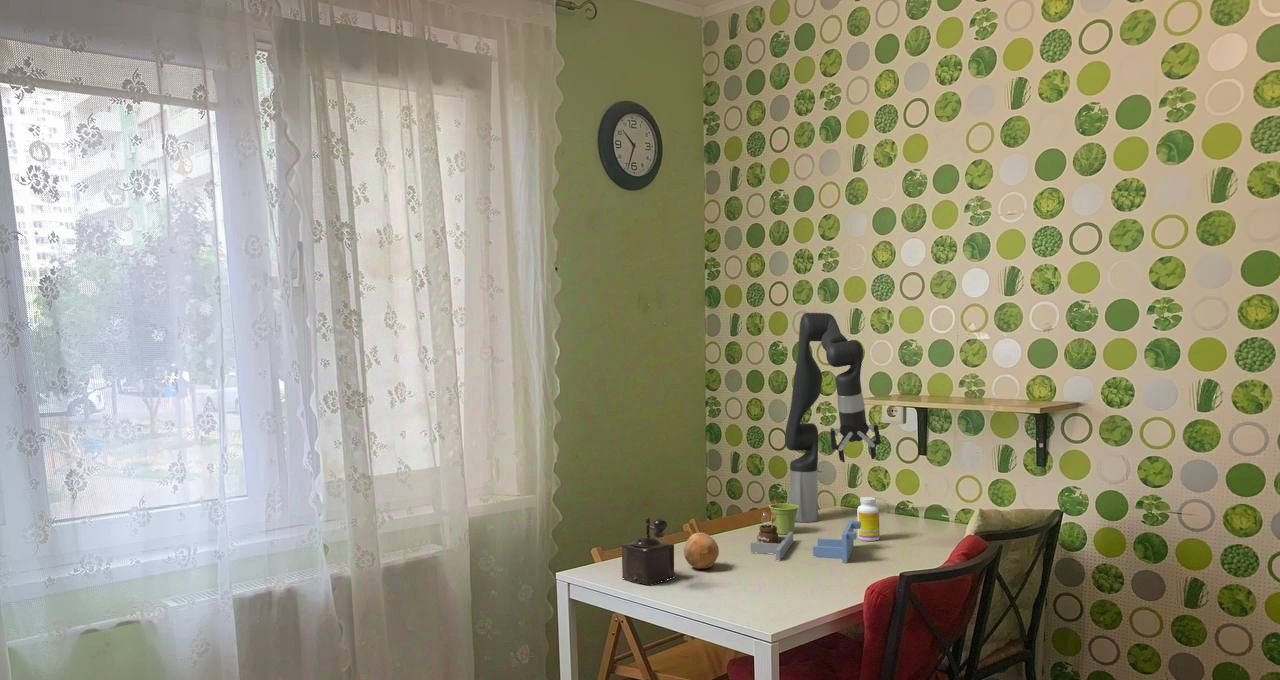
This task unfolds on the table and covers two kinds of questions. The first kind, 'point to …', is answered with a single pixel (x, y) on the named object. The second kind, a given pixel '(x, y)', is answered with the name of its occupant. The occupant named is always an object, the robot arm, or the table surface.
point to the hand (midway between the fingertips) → (857, 459)
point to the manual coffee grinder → (648, 556)
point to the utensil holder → (768, 531)
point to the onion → (701, 551)
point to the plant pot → (784, 517)
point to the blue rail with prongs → (838, 544)
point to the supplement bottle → (868, 519)
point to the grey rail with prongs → (773, 546)
